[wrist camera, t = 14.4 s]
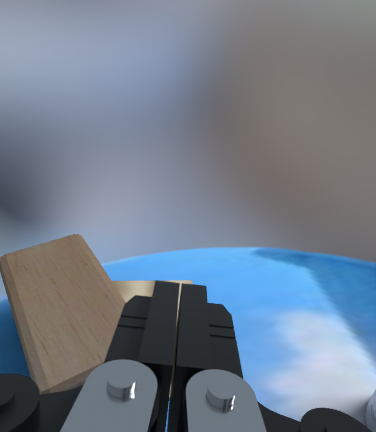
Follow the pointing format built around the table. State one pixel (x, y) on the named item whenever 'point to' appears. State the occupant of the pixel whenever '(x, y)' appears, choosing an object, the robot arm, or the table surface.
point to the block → (61, 310)
